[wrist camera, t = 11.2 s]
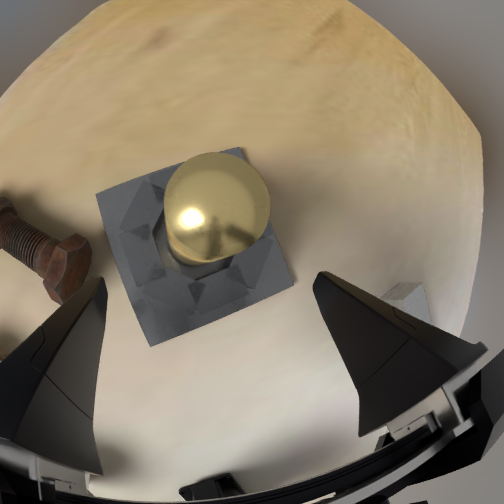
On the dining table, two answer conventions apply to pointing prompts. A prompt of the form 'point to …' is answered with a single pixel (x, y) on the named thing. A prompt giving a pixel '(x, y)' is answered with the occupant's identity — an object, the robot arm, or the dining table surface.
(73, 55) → the dining table surface
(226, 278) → the socket block
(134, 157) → the dining table surface
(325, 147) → the dining table surface
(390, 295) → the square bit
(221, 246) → the pale yellow tall bar
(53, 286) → the bolt
